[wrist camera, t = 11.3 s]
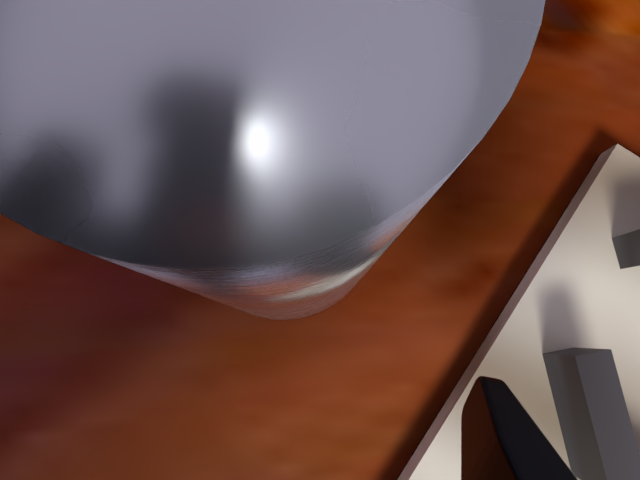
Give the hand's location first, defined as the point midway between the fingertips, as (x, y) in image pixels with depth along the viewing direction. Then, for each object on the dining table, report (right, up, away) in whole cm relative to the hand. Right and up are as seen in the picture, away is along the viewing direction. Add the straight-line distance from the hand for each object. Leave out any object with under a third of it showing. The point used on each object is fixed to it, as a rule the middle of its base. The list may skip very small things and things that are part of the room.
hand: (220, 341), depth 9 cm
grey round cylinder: (+1, +2, +8) cm, 9 cm away
